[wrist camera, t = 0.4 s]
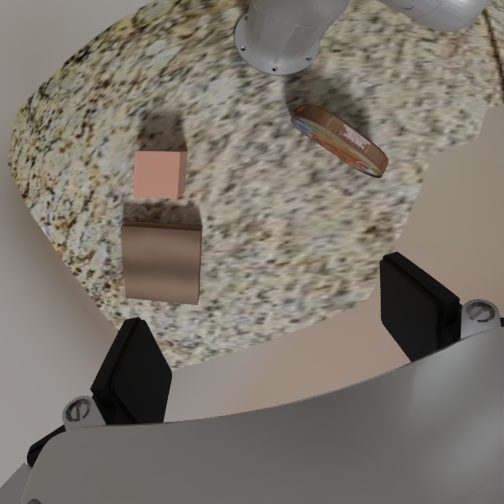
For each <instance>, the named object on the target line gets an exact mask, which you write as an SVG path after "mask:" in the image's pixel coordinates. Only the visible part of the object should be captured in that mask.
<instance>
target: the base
mask: <svg viewBox="0 0 504 504" xmlns="http://www.w3.org/2000/svg"><path fill="white" fill-rule="evenodd" d="M202 227H203V226H198V225H184V224H169V223H154V222H138V221H127V222H126V223H125V224H123V225H122V226H121V233H122V255H123V269H124V282H125V292H126V298H134V299H142V300H151V301H161V302H171V303H181V304H193V305H198V301H199V296H200V267H201V245H202Z"/></svg>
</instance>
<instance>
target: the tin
mask: <svg viewBox="0 0 504 504" xmlns="http://www.w3.org/2000/svg"><path fill="white" fill-rule="evenodd" d="M291 122H292V123H293V125H294V126H295V127H296V128H297V129H298V130H299V131H301V132H302V133H303V134H305V135H306V136H307V137H309V138H311V139H312V140H314V141H315V142H317V143H318V144H320V145H321V146H323V147H324V148H326V149H327V150H329V151H330V152H331V153H333V154H334V155H336V156H337V157H339V158H340V159H341V160H343V161H344V162H346V163H347V164H349V165H350V166H352V167H353V168H355V169H357V170H359V171H360V172H362V173H364V174H367V175H369V176H372V177H375V178H382V176H383V173H384V171H385V169H386V167H387V165H388V158H387V156H386V155H385V154H384V152H383V151H382V150H381V149H380V148H379V147H377V146H376V145H375V144H374V143H372V142H371V141H370V140H369V139H368V138H366V137H365V136H364V135H362V134H361V133H360V132H358V131H357V130H356V129H354V128H353V127H352V126H350V125H349V124H348V123H346V122H345V121H343V120H342V119H341V118H339V117H338V116H336V115H335V114H333V113H331V112H330V111H328V110H326V109H324V108H321V107H319V106H316V105H311V104H305V105H302V106H300V107H299V108H298V110H297V111H296V113H295V115H294V116H293V117H292V118H291Z"/></svg>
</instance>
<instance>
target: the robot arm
mask: <svg viewBox="0 0 504 504" xmlns="http://www.w3.org/2000/svg"><path fill="white" fill-rule="evenodd" d="M349 1H350V0H250V4H249V11H248V13H246V14H245V15H244V16H243V17H242V18H241V19H240V20H239V22H238V24H237V26H236V29H235V34H234V40H235V46H236V49H237V51H238V53H239V55H240V56H241V58H242V59H243V60H244V61H245V62H246V63H247V64H248V65H250V66H251V67H252V68H254V69H256V70H258V71H260V72H263V73H266V74H271V75H281V76H284V75H291V74H295V73H298V72H300V71H302V70H304V69H305V68H307V67H308V66H309V65H310V64H311V63H312V62H313V61H314V60H315V58H316V57H317V55H318V52H319V49H320V37H321V36H322V35H323V34H324V33H325V32H326V31H327V30H328V28H329V27H330V26H331V25H332V24H333V23H334V22H335V21H336V20H337V19H338V18H339V17H340V15H341V14H342V13H343V12H344V11H345V9H346V8H347V6H348V4H349ZM377 1H379V2H381V3H383V4H385V5H387V6H389V7H391V8H393V9H395V10H397V11H399V12H401V13H402V14H404V15H406V16H408V17H410V18H412V19H413V20H415V21H417V22H419V23H421V24H423V25H424V26H426V27H429V28H431V29H434V30H436V31H441V32H454V31H458V30H461V29H463V28H465V27H466V26H468V25H469V24H471V23H472V22H473V21H474V20H475V19H476V18H477V17H478V16H479V14H480V13H481V12H482V11H483V9H484V8H485V6H486V5H487V3H488V1H489V0H377ZM246 20H247V21H246ZM242 49H244V50H245V51H242ZM307 59H309V61H308V60H307ZM272 69H275V70H276V71H273V70H272ZM380 288H381V321H382V323H383V325H384V326H385V328H386V329H387V330H388V332H389V333H390V334H391V335H392V337H393V338H394V340H395V341H396V342H397V343H398V345H399V346H400V347H401V349H402V350H403V351H404V353H405V354H406V355H407V357H408V358H409V360H410V361H411V362H410V363H408V364H406V365H403V366H401V367H399V368H396V369H393V370H391V371H388V372H386V373H383V374H381V375H378V376H376V377H373V378H370V379H367V380H364V381H361V382H359V383H356V384H353V385H349V386H346V387H343V388H340V389H337V390H334V391H330V392H327V393H324V394H320V395H317V396H313V397H310V398H306V399H302V400H298V401H294V402H290V403H287V404H282V405H277V406H273V407H268V408H263V409H259V410H253V411H248V412H243V413H237V414H232V415H225V416H218V417H212V418H204V419H196V420H187V421H176V422H165V423H164V422H163V421H164V416H165V410H166V405H167V400H168V394H169V390H170V385H171V380H172V372H171V369H170V367H169V365H168V363H167V362H166V360H165V358H164V356H163V354H162V352H161V350H160V348H159V347H158V345H157V343H156V341H155V339H154V337H153V335H152V333H151V331H150V329H149V327H148V325H147V323H146V321H145V320H141V318H139V317H136V318H131V319H126V320H125V321H124V323H123V325H122V327H121V328H120V330H119V332H118V334H117V336H116V338H115V340H114V342H113V344H112V346H111V348H110V350H109V352H108V354H107V355H106V358H105V359H104V361H103V364H102V366H101V368H100V370H99V372H98V374H97V376H96V378H95V380H94V382H93V384H92V386H91V389H90V390H91V391H92V393H93V396H92V398H91V397H89V396H80V397H77V398H75V399H73V400H72V401H70V402H69V403H68V404H67V405H66V407H65V409H64V410H63V415H62V418H63V422H64V425H62V426H61V427H59V428H58V429H56V430H55V431H53V432H52V433H50V434H49V435H47V436H45V437H44V438H42V439H41V440H39V441H38V442H36V443H35V444H33V445H32V446H31V447H30V449H29V452H28V454H27V462H28V465H26V464H25V463H23V465H21V467H20V468H19V469H18V470H17V471H16V472H15V473H14V474H13V475H12V476H11V477H10V478H9V479H8V480H7V481H6V482H5V483H4V485H3V486H2V487H1V488H0V504H504V318H500V315H499V311H498V308H497V307H496V306H495V305H494V304H493V303H491V302H489V301H486V300H480V299H475V300H471V301H469V302H467V303H465V304H464V306H462V305H461V304H460V303H459V301H460V299H459V297H457V296H456V295H455V294H454V293H452V292H451V291H450V290H448V289H447V288H446V287H444V286H443V285H442V284H441V283H439V282H438V281H437V280H436V279H434V278H433V277H432V276H430V275H429V274H428V273H426V272H425V271H424V270H422V269H421V268H419V267H418V266H417V265H415V264H414V263H413V262H411V261H410V260H408V259H407V258H406V257H404V256H403V255H401V254H400V253H399V252H394V253H391V254H387V255H384V256H383V260H381V261H380Z"/></svg>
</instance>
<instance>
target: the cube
mask: <svg viewBox="0 0 504 504" xmlns="http://www.w3.org/2000/svg"><path fill="white" fill-rule="evenodd" d="M187 153H188V152H187V151H158V150H146V151H135V168H134V197H151V198H170V199H178V198H179V197H180V196H181V195H182V194H183V193H184V192H185V179H186V166H187Z"/></svg>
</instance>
